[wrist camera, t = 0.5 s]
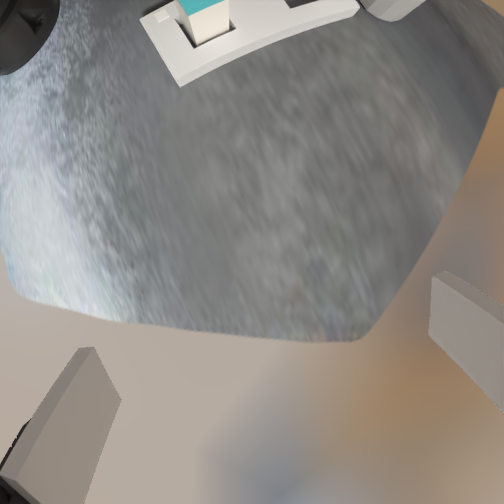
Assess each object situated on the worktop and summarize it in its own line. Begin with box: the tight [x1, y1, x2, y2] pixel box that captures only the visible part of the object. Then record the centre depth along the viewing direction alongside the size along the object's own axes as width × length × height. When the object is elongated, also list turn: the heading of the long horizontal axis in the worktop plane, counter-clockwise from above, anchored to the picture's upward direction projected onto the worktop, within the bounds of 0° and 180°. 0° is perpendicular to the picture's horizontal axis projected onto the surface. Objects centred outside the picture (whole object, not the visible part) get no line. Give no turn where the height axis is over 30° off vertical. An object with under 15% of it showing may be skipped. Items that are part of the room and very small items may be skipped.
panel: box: [139, 0, 360, 87], centre depth 27 cm, size 10×24×3 cm, turn 118°
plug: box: [174, 0, 230, 47], centre depth 24 cm, size 4×5×10 cm
